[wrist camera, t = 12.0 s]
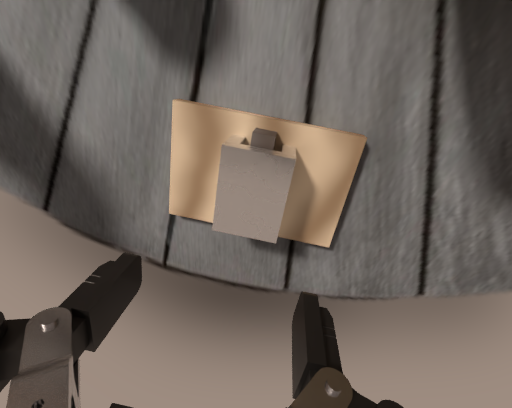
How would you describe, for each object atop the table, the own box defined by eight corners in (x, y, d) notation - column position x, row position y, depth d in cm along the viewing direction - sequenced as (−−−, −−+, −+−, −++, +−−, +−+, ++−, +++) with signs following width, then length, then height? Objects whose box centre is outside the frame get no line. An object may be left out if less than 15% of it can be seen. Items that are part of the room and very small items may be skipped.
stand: (174, 207, 31) (159, 224, 28) (179, 98, 26) (160, 101, 22) (327, 240, 30) (332, 261, 27) (363, 134, 25) (375, 143, 22)
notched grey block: (223, 208, 29) (212, 230, 25) (233, 134, 25) (221, 144, 21) (278, 220, 29) (275, 243, 24) (295, 146, 25) (296, 159, 21)
